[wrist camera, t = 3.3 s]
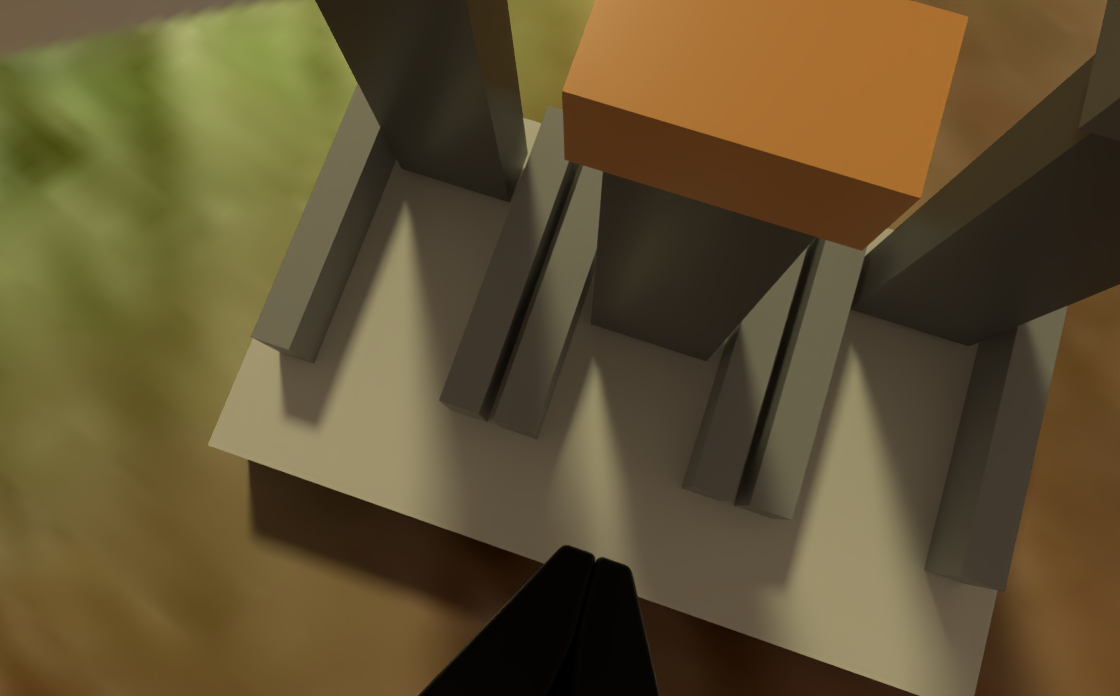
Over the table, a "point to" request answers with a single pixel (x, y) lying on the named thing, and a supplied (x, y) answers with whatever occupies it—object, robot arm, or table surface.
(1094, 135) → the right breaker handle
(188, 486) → the table surface
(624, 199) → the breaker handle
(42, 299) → the table surface
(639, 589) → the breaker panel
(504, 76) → the handle
